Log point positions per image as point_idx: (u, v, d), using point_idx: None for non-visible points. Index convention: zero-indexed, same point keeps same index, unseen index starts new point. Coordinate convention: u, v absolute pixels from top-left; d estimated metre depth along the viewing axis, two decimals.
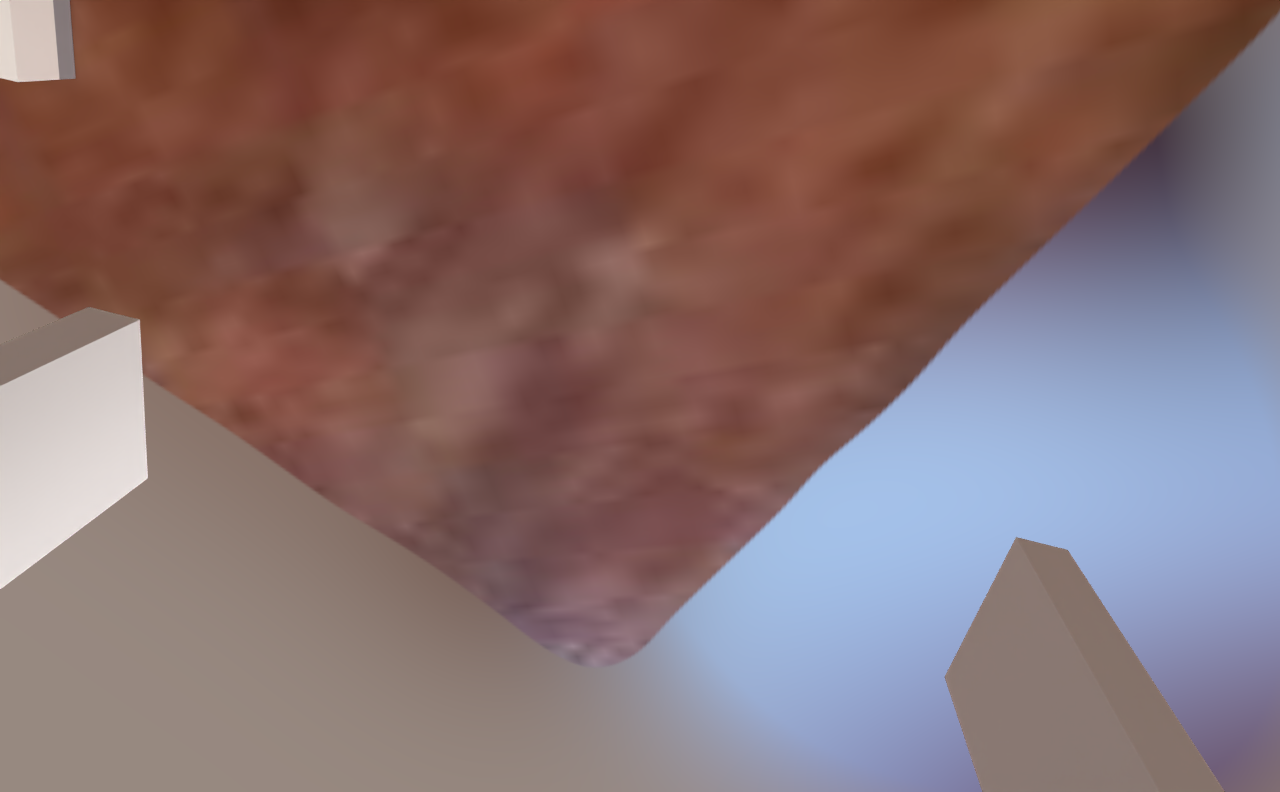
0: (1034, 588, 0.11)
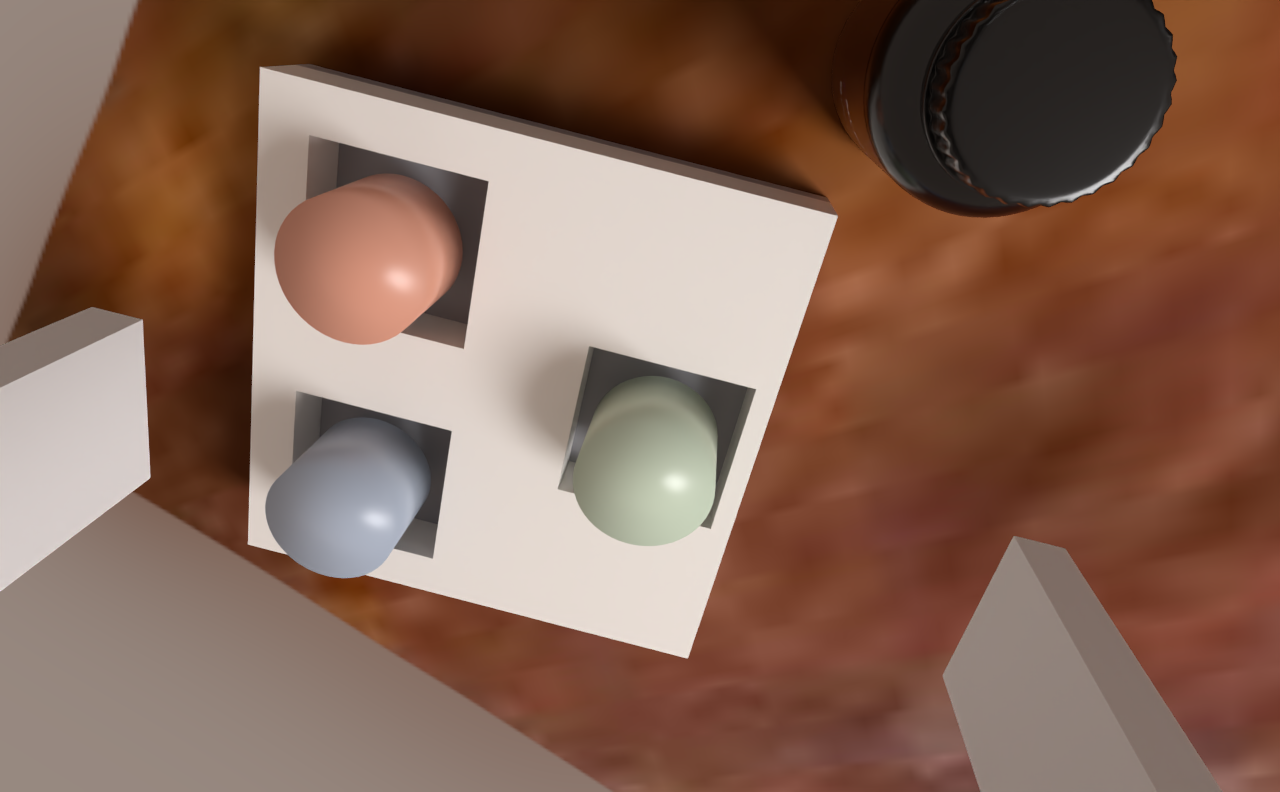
0: (1031, 587, 0.11)
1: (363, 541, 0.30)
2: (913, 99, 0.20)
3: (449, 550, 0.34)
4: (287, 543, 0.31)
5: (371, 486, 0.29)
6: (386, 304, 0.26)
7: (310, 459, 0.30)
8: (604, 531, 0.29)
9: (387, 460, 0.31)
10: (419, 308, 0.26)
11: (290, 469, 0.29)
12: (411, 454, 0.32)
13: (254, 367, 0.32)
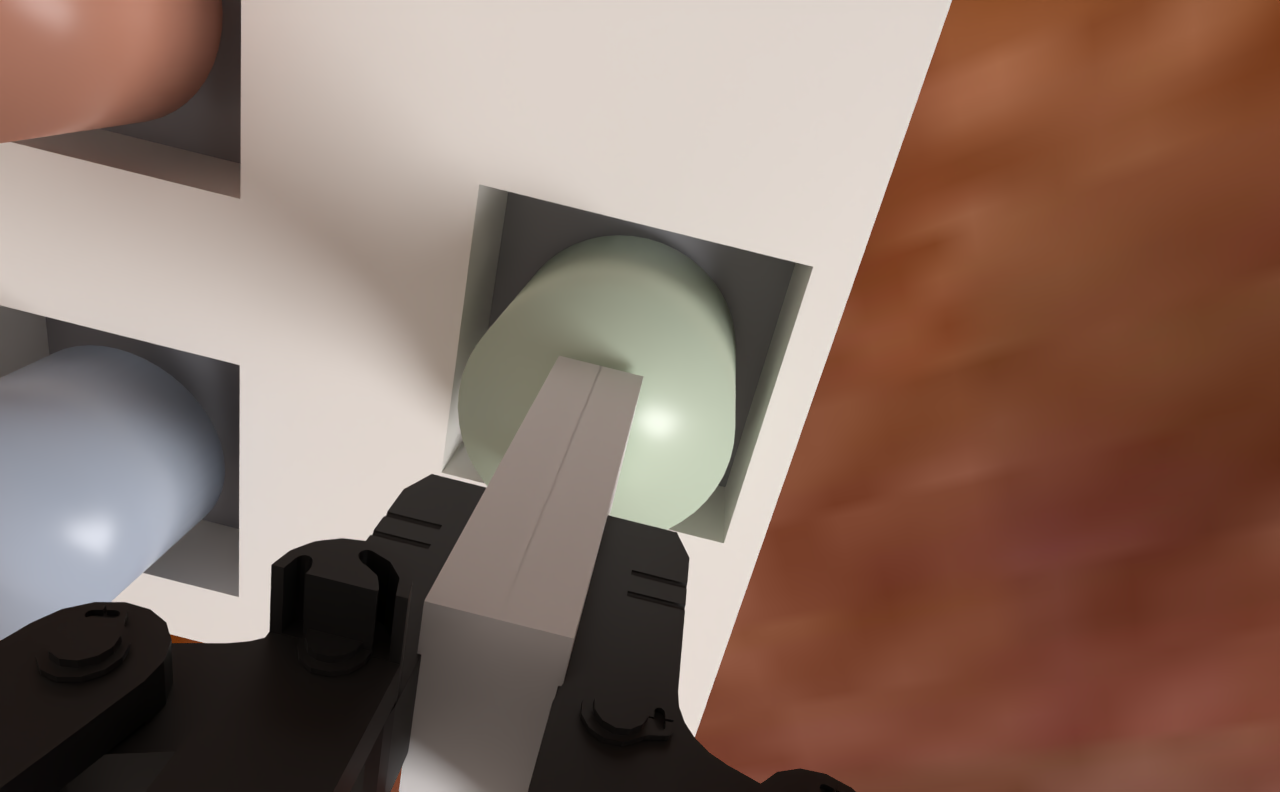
0: (589, 397, 0.13)
1: (48, 576, 0.16)
2: None
3: (265, 583, 0.20)
4: None
5: (42, 466, 0.15)
6: None
7: None
8: None
9: (105, 419, 0.16)
10: (56, 53, 0.11)
11: None
12: (171, 410, 0.18)
13: None
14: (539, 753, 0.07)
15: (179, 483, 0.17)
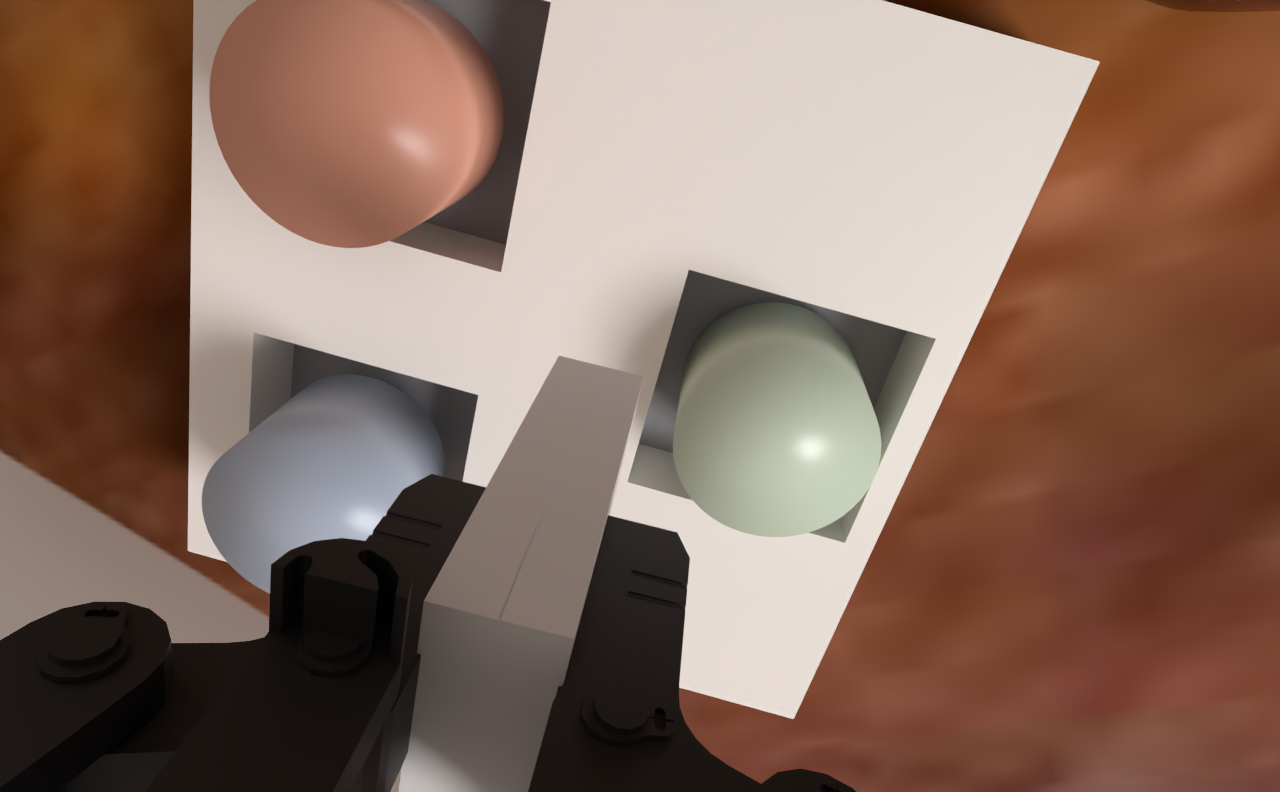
0: (589, 397, 0.13)
1: None
2: None
3: None
4: (234, 553, 0.21)
5: (360, 472, 0.19)
6: (390, 180, 0.16)
7: (269, 430, 0.20)
8: (712, 515, 0.20)
9: (385, 435, 0.21)
10: (442, 188, 0.16)
11: (238, 444, 0.20)
12: (419, 428, 0.22)
13: (193, 297, 0.22)
14: (539, 754, 0.07)
15: None
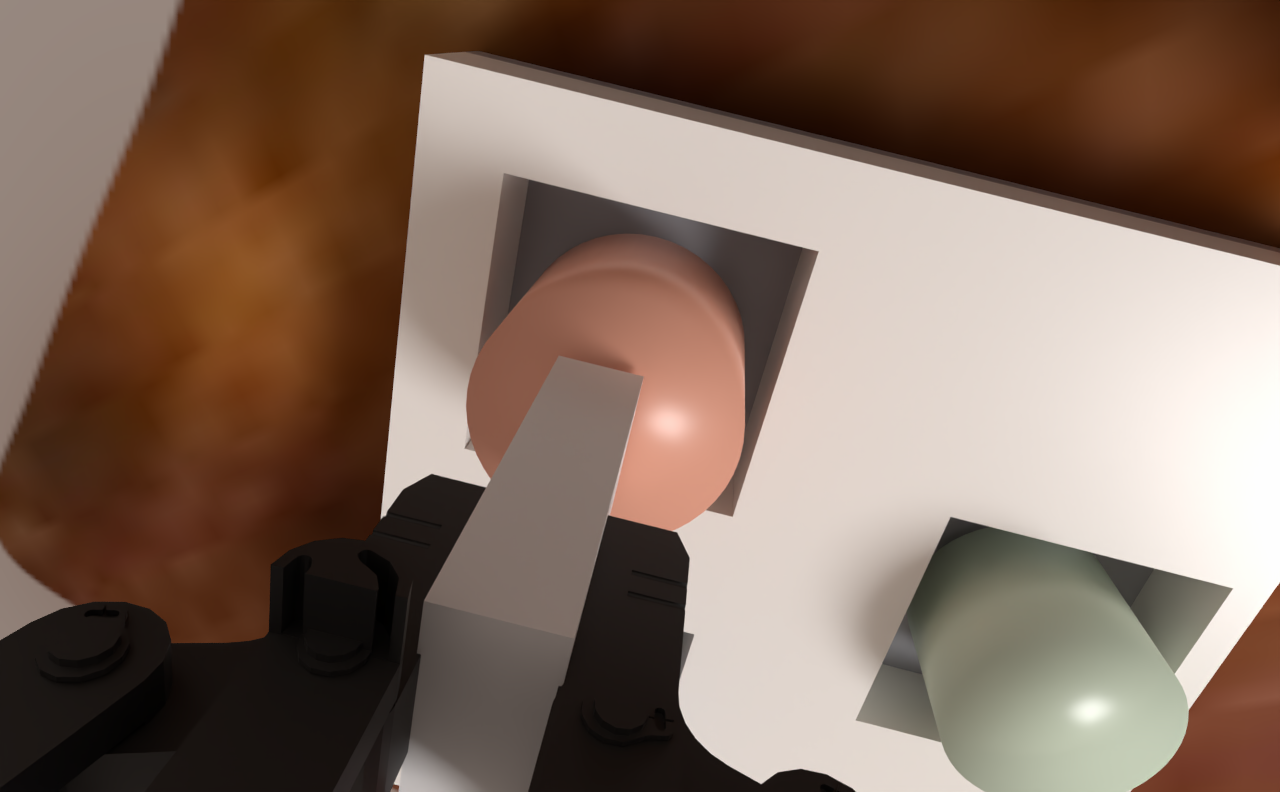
0: (589, 397, 0.13)
1: None
2: None
3: None
4: None
5: None
6: (666, 478, 0.15)
7: None
8: (977, 784, 0.18)
9: None
10: (725, 486, 0.15)
11: None
12: None
13: None
14: (539, 753, 0.07)
15: None
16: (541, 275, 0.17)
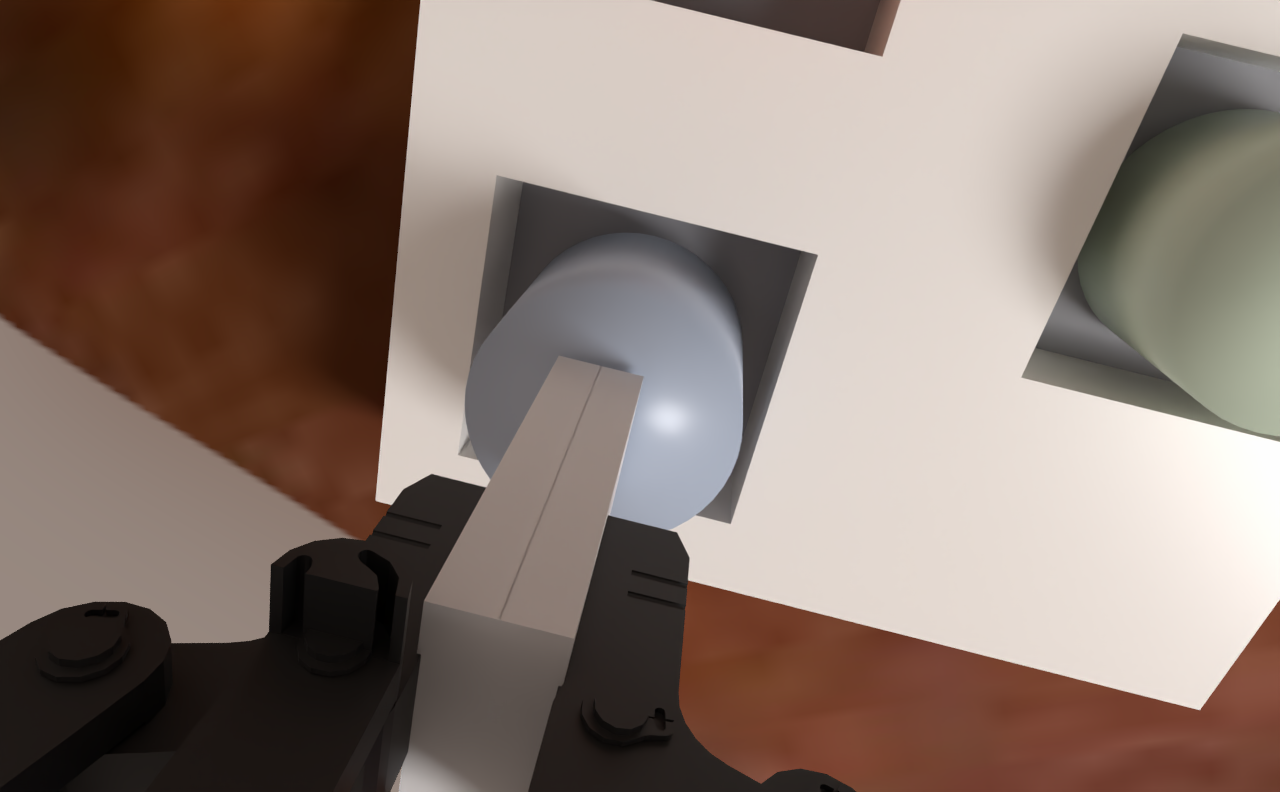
0: (589, 397, 0.13)
1: (668, 462, 0.14)
2: None
3: (766, 508, 0.18)
4: None
5: (707, 336, 0.13)
6: None
7: (569, 282, 0.14)
8: (1211, 406, 0.14)
9: (706, 298, 0.15)
10: None
11: (529, 302, 0.14)
12: (726, 298, 0.16)
13: (413, 125, 0.15)
14: (539, 753, 0.07)
15: None
16: None
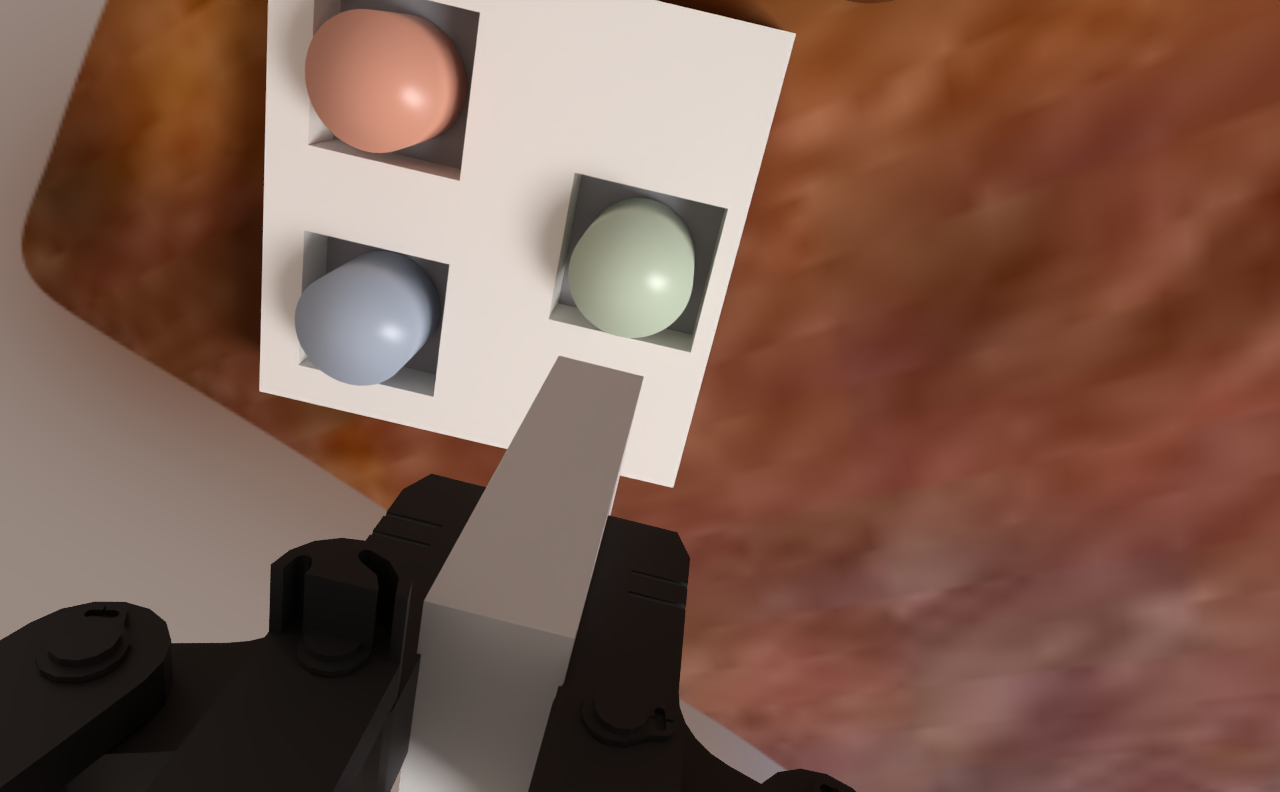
0: (589, 397, 0.13)
1: (382, 347, 0.34)
2: None
3: (449, 387, 0.37)
4: (314, 353, 0.34)
5: (390, 292, 0.33)
6: (404, 112, 0.30)
7: (335, 271, 0.33)
8: (597, 325, 0.33)
9: (403, 279, 0.35)
10: (432, 115, 0.30)
11: None
12: (423, 280, 0.36)
13: (265, 208, 0.34)
14: (539, 753, 0.07)
15: (428, 315, 0.36)
16: None
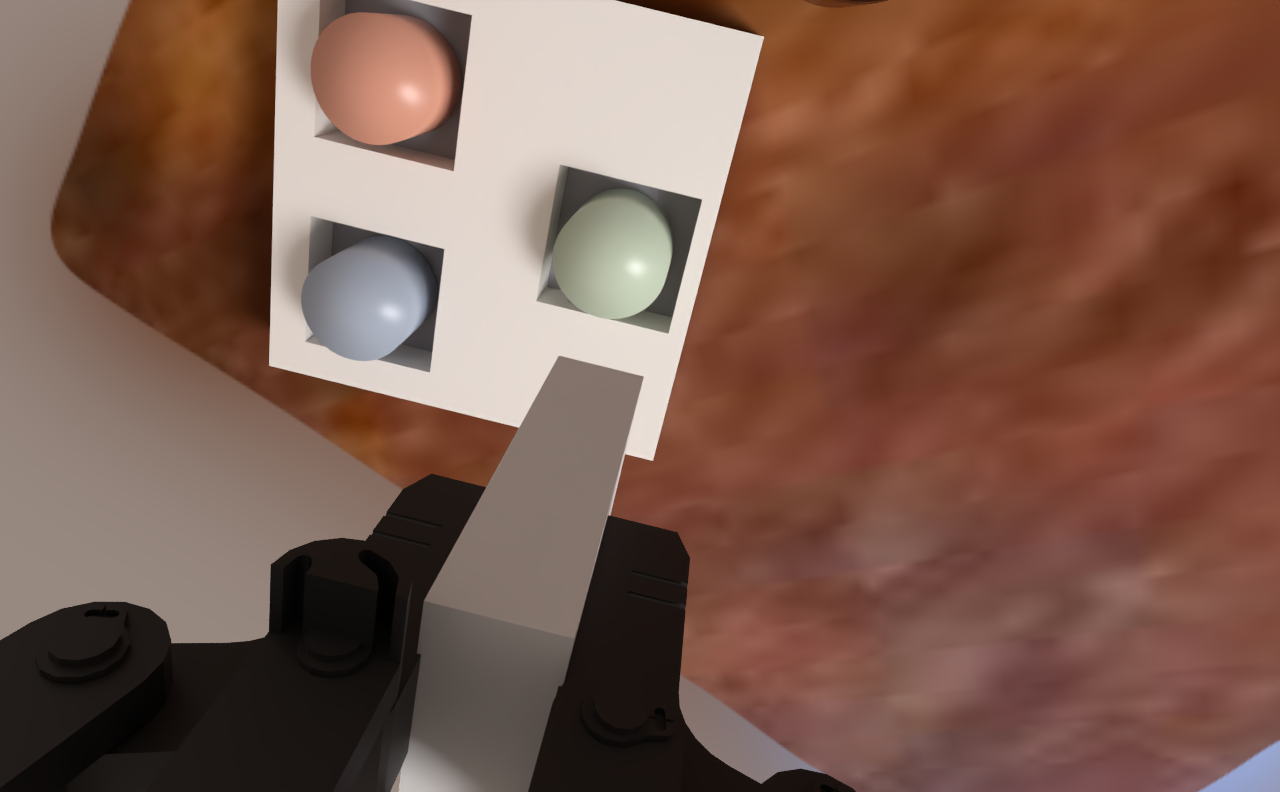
0: (589, 397, 0.13)
1: (381, 326, 0.37)
2: None
3: (444, 364, 0.39)
4: (319, 330, 0.37)
5: (388, 274, 0.36)
6: (401, 108, 0.33)
7: (338, 254, 0.36)
8: (579, 307, 0.35)
9: (401, 262, 0.37)
10: (427, 111, 0.33)
11: (322, 262, 0.36)
12: (420, 264, 0.39)
13: (274, 195, 0.37)
14: (539, 753, 0.07)
15: (425, 296, 0.39)
16: None
